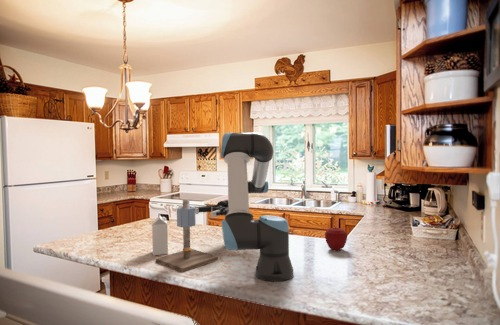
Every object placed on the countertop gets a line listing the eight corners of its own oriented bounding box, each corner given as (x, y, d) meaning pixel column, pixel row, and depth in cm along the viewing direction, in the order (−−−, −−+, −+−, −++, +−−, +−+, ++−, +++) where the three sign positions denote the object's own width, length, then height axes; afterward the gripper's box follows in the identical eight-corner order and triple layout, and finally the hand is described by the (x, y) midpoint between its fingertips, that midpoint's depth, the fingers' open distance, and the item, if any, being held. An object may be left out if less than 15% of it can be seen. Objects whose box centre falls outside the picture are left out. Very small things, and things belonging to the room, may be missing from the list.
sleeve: (198, 224, 147) (198, 207, 147) (184, 228, 141) (184, 209, 141) (188, 222, 152) (187, 205, 152) (173, 225, 146) (173, 208, 146)
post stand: (218, 259, 148) (217, 199, 147) (182, 271, 133) (181, 204, 132) (190, 251, 161) (189, 195, 161) (155, 261, 146) (154, 200, 146)
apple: (348, 253, 155) (348, 229, 154) (325, 252, 157) (325, 228, 157) (346, 247, 165) (346, 224, 165) (324, 246, 168) (324, 224, 167)
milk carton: (152, 255, 155) (152, 216, 155) (153, 251, 162) (152, 214, 162) (167, 254, 157) (167, 215, 157) (167, 250, 164) (166, 213, 164)
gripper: (245, 216, 167) (221, 224, 149) (207, 212, 180) (181, 218, 162) (245, 201, 167) (220, 207, 149) (207, 198, 180) (180, 204, 161)
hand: (200, 213), depth 155 cm, fingers open, 13 cm apart
